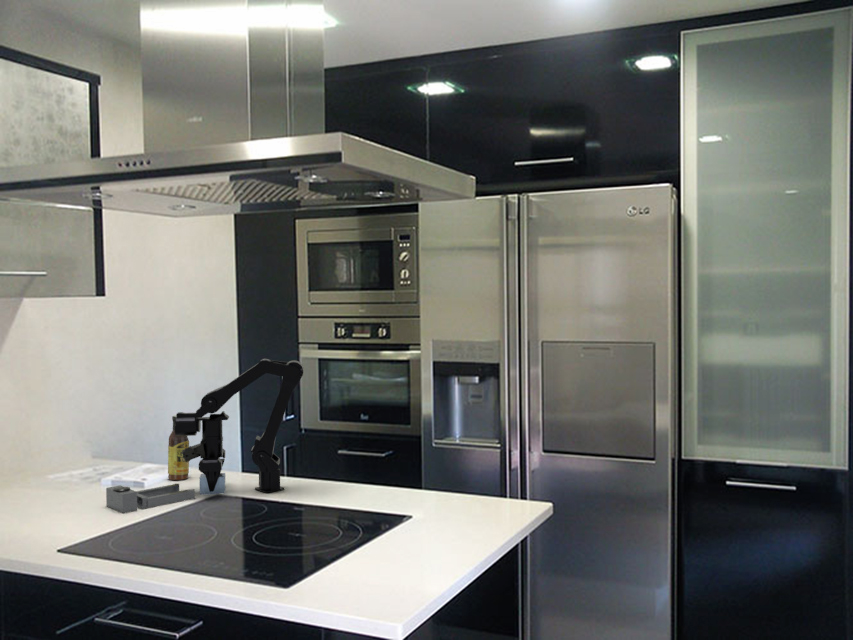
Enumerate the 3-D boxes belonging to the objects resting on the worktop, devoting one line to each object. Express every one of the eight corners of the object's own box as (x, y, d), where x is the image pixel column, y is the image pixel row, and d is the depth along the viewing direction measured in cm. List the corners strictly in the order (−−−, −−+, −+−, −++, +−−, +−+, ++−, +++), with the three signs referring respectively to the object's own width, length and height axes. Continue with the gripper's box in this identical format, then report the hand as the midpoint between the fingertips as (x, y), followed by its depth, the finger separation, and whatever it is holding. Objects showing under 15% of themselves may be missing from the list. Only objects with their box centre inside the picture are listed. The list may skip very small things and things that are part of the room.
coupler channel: (196, 498, 224) (196, 480, 224) (122, 513, 209) (122, 493, 209) (177, 491, 232) (177, 473, 232) (105, 505, 216) (104, 486, 216)
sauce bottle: (178, 482, 244) (178, 417, 243) (163, 479, 246) (162, 416, 246) (193, 477, 249) (193, 414, 249) (178, 475, 252) (177, 413, 251)
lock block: (224, 493, 230) (224, 476, 230) (199, 495, 229) (199, 477, 228) (225, 489, 235) (225, 472, 235) (201, 490, 234) (200, 473, 233)
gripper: (187, 430, 239) (187, 481, 239) (179, 442, 221) (180, 497, 221) (225, 429, 241) (225, 480, 242) (220, 440, 223) (221, 495, 223)
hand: (212, 488), depth 232 cm, fingers open, 8 cm apart
